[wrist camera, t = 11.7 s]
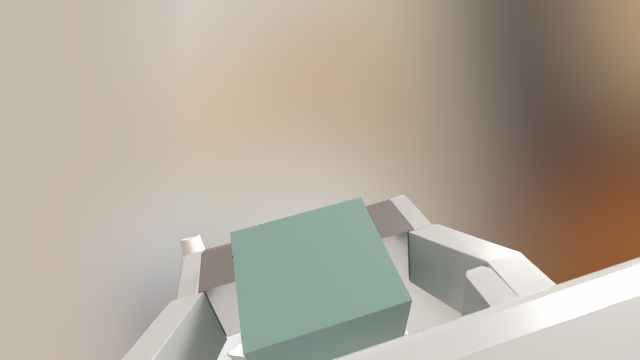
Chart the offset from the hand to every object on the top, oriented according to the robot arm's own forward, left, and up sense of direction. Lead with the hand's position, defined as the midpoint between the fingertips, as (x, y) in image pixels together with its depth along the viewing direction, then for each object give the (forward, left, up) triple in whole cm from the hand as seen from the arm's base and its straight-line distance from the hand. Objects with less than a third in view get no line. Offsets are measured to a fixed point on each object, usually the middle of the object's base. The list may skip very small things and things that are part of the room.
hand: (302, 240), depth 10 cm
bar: (+3, +2, -8) cm, 9 cm away
